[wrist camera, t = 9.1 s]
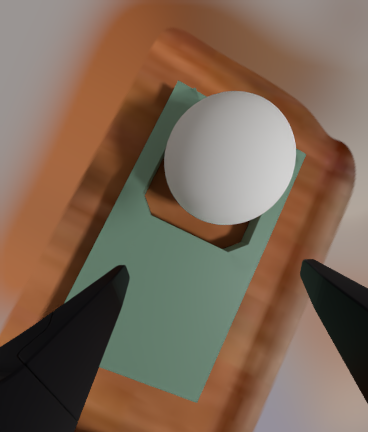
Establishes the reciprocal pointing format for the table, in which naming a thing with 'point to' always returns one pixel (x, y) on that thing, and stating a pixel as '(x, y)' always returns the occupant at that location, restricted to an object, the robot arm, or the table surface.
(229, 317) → the putting board
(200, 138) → the ball
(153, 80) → the table surface
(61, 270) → the table surface
